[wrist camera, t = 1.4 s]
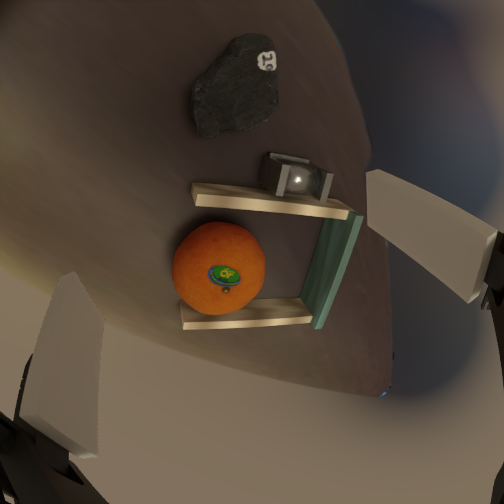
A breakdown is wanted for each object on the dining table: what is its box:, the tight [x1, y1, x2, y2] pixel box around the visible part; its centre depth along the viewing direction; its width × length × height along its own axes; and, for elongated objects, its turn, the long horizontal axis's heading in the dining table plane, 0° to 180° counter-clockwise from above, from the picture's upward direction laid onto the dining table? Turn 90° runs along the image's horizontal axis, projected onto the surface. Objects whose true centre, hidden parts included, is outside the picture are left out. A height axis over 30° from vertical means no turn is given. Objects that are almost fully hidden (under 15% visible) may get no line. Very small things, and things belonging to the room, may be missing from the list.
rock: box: [189, 33, 279, 138], centre depth 24 cm, size 9×10×6 cm
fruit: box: [172, 221, 265, 315], centre depth 33 cm, size 11×10×8 cm
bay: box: [179, 182, 364, 330], centre depth 35 cm, size 19×17×6 cm
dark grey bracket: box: [258, 152, 333, 202], centre depth 31 cm, size 6×4×6 cm, turn 79°
